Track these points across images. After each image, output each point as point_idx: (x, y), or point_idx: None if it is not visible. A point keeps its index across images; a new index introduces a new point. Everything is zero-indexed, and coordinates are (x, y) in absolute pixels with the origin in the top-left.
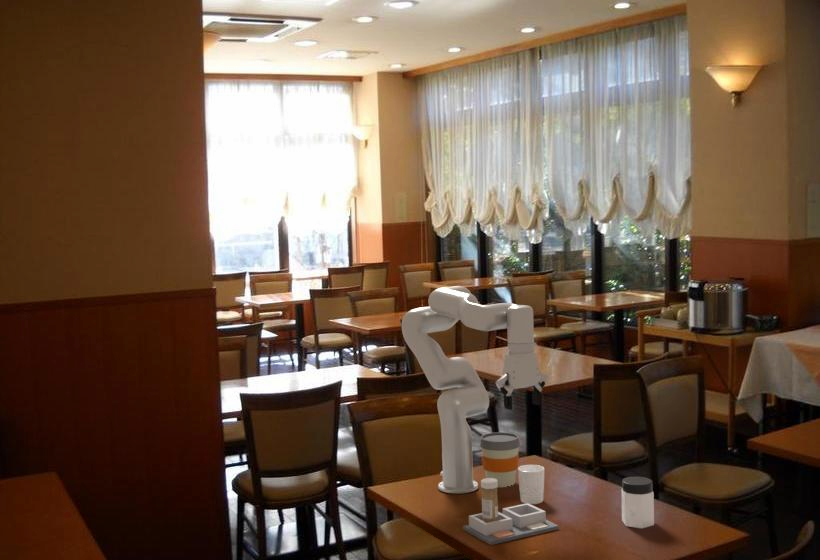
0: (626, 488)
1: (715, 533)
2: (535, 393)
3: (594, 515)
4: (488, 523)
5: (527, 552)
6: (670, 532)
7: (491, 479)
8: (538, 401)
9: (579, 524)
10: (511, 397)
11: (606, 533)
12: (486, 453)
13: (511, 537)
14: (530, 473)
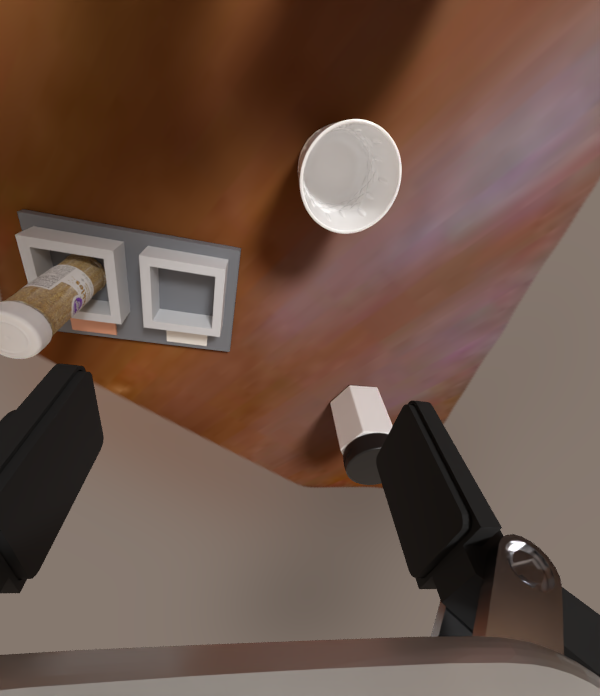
0: (344, 458)
1: None
2: (423, 542)
3: (342, 340)
4: None
5: (106, 385)
6: None
7: (17, 339)
8: (389, 488)
9: (280, 353)
10: (24, 573)
11: (280, 403)
12: None
13: (106, 336)
14: (311, 215)
